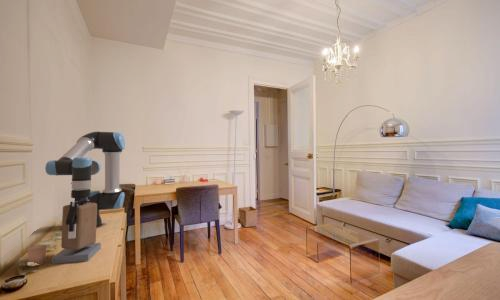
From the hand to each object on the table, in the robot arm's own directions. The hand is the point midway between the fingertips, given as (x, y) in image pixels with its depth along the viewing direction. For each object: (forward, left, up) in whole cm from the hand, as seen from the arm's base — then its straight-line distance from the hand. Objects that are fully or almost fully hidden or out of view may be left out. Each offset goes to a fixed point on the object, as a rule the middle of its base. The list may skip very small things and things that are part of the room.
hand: (79, 233), depth 108 cm
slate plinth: (0, 0, -11) cm, 11 cm away
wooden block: (0, 0, -6) cm, 6 cm away
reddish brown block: (+5, -14, -11) cm, 18 cm away
